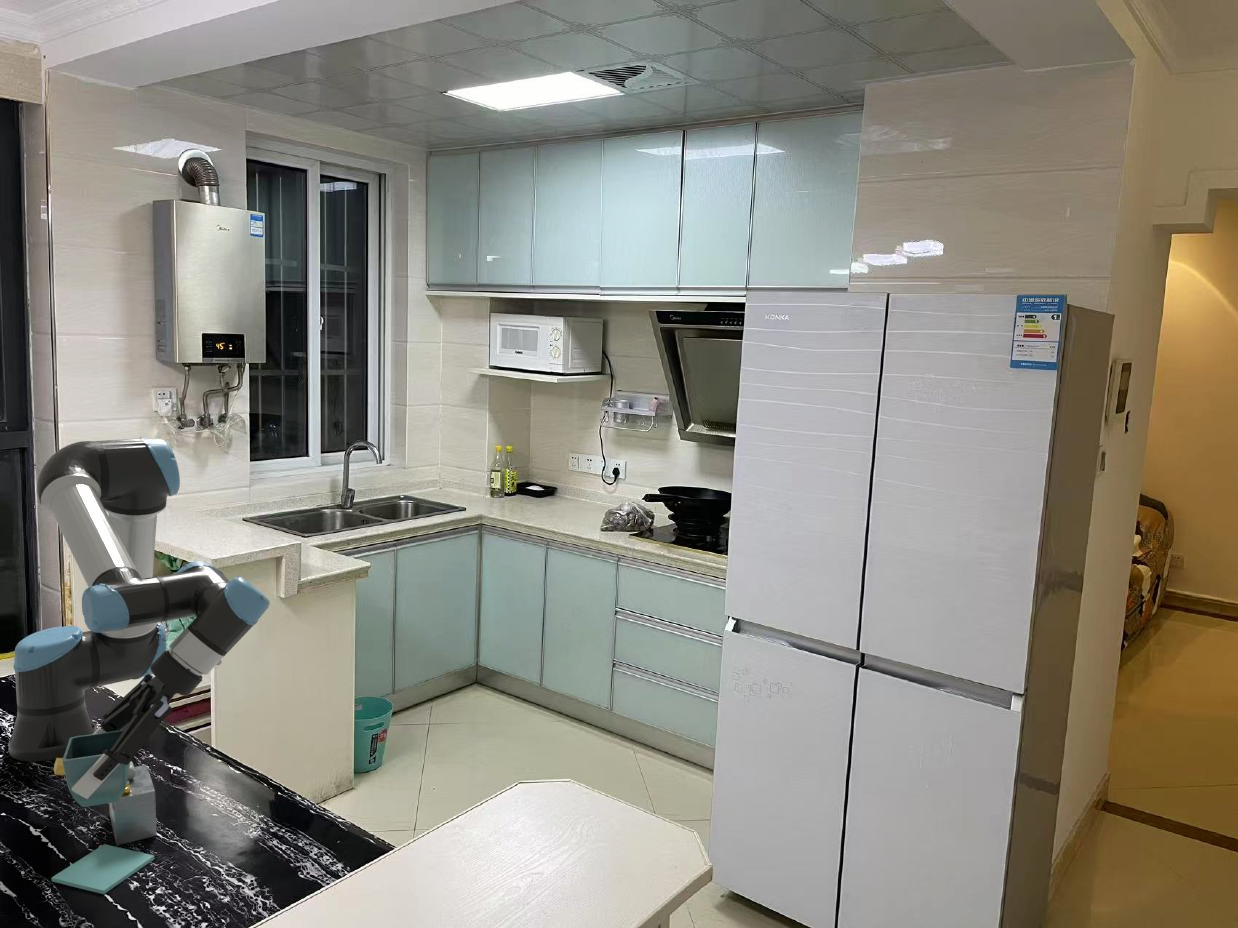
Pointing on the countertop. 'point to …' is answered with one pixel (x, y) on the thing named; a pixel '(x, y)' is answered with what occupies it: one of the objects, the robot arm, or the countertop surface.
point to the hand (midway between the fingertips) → (76, 779)
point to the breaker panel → (135, 809)
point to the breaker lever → (60, 771)
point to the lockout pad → (103, 869)
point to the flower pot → (84, 756)
